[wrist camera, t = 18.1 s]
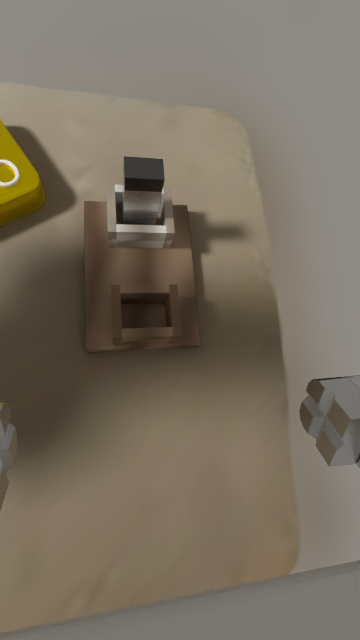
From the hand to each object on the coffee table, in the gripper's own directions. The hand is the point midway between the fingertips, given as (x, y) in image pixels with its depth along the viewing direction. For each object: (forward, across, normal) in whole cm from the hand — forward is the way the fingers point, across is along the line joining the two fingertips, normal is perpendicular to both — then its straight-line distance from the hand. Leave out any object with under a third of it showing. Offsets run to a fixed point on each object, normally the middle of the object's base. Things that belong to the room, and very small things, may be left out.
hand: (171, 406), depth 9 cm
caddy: (+34, -2, +10) cm, 36 cm away
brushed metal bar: (+38, -2, +4) cm, 38 cm away
